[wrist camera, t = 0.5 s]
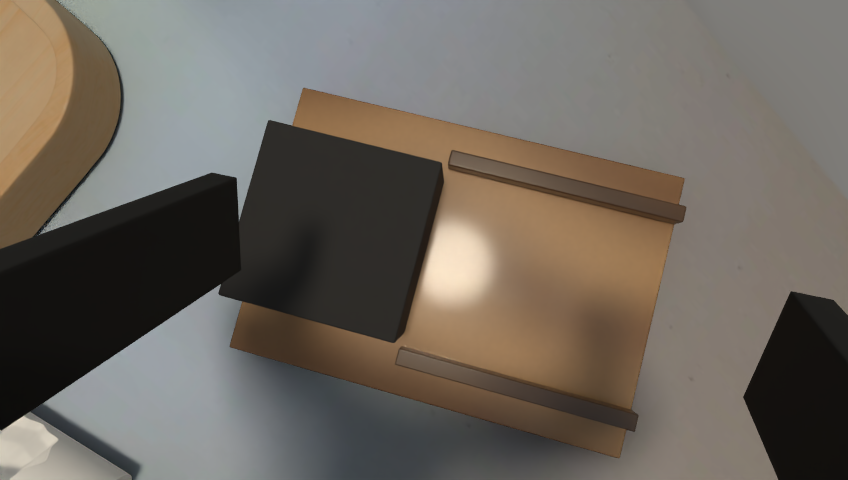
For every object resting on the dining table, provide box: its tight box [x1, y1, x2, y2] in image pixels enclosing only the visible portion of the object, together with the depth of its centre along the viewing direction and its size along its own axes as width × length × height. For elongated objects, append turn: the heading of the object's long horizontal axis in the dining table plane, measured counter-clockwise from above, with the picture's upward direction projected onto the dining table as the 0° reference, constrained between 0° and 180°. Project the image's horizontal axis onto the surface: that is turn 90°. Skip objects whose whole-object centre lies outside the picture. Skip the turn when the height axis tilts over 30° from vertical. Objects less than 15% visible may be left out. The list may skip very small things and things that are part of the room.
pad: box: [219, 120, 444, 343], centre depth 24 cm, size 8×8×4 cm
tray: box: [230, 88, 686, 458], centre depth 25 cm, size 14×20×2 cm
